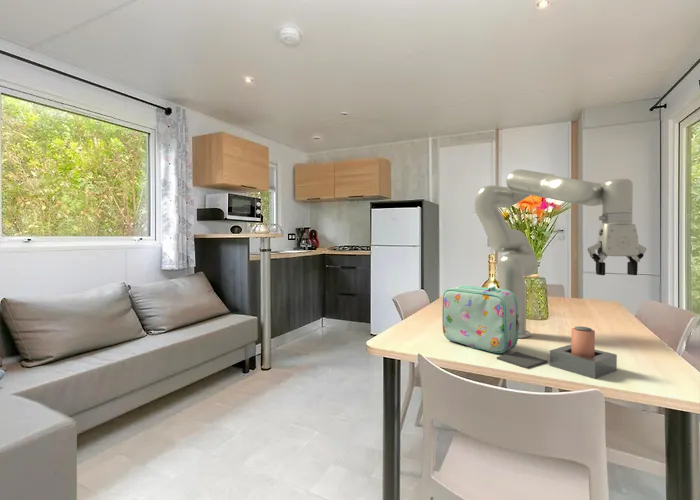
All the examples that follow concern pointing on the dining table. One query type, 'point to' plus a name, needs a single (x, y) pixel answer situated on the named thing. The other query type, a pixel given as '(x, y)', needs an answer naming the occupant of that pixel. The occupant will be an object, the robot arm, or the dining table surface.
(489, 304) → the lunch box
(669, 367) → the dining table surface
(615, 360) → the housing
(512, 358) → the mat
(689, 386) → the dining table surface
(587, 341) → the orange cylinder
